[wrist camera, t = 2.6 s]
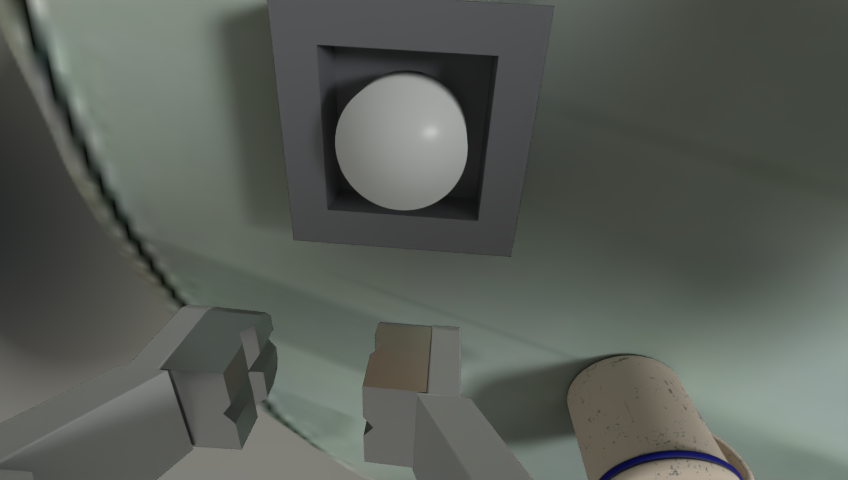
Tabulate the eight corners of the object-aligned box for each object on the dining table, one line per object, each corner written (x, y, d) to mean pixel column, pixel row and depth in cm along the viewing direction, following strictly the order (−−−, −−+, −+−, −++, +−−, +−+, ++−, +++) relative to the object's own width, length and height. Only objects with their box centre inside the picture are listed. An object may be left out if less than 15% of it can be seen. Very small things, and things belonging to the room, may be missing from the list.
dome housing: (534, 6, 22) (554, 5, 17) (502, 217, 28) (510, 256, 23) (303, -8, 22) (265, -11, 18) (319, 203, 28) (293, 240, 24)
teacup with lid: (546, 418, 36) (581, 578, 26) (588, 339, 32) (650, 495, 22) (680, 445, 37) (765, 613, 27) (740, 371, 32) (869, 538, 22)
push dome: (472, 74, 20) (474, 84, 18) (460, 191, 23) (461, 214, 21) (347, 66, 21) (331, 74, 18) (351, 183, 23) (338, 205, 21)
